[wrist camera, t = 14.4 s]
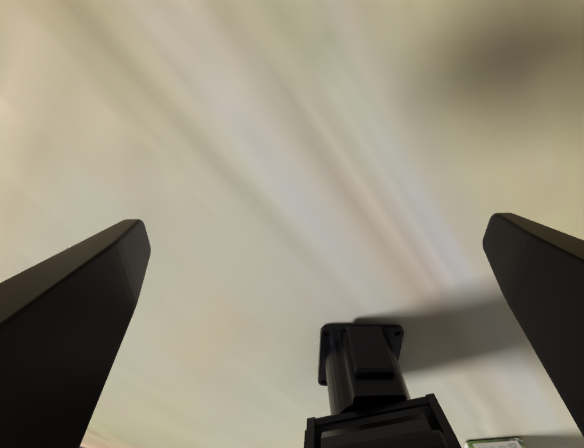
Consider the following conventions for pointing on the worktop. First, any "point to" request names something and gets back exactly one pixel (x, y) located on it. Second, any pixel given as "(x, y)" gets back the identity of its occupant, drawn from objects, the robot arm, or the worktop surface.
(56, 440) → the robot arm
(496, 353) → the worktop surface
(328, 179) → the worktop surface
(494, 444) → the syrup box
